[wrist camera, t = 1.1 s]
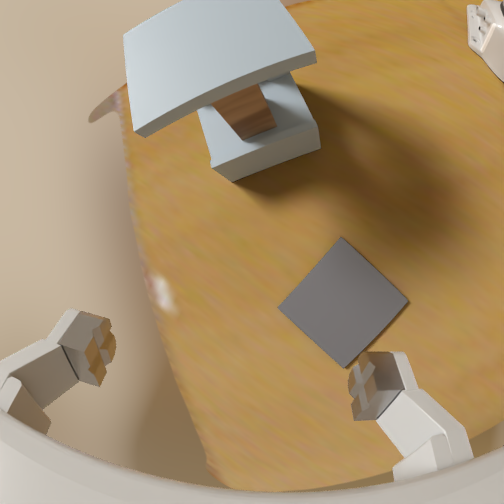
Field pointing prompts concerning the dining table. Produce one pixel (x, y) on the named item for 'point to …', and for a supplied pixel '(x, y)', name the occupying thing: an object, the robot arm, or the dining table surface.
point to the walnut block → (246, 112)
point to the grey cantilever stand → (222, 77)
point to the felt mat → (343, 303)
